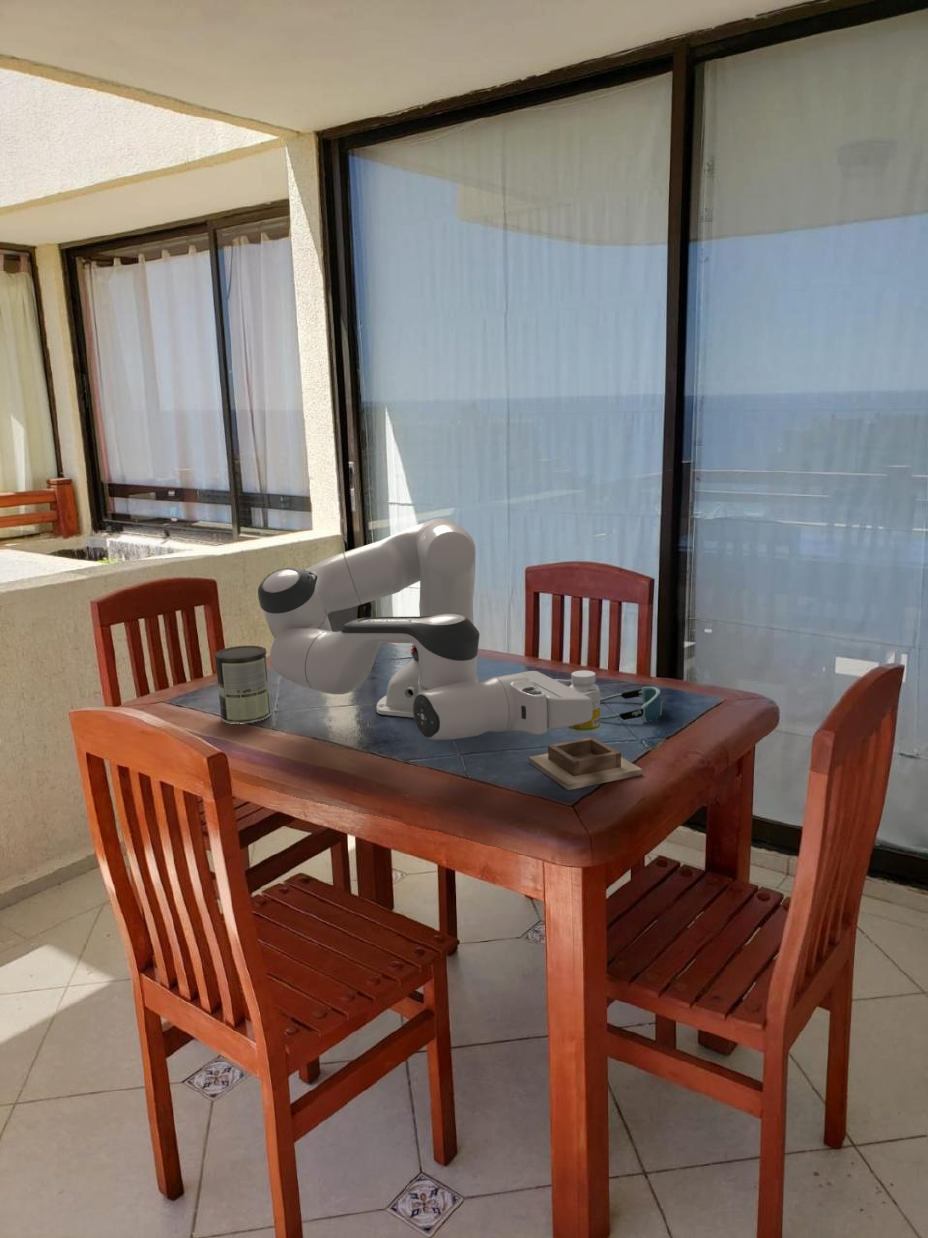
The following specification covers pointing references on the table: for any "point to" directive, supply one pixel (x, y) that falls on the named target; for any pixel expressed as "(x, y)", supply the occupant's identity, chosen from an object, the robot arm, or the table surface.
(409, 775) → the table surface
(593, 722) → the supplement bottle
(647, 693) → the sunglasses
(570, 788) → the collar board
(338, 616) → the coffeepot
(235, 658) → the coffee can
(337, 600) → the robot arm
